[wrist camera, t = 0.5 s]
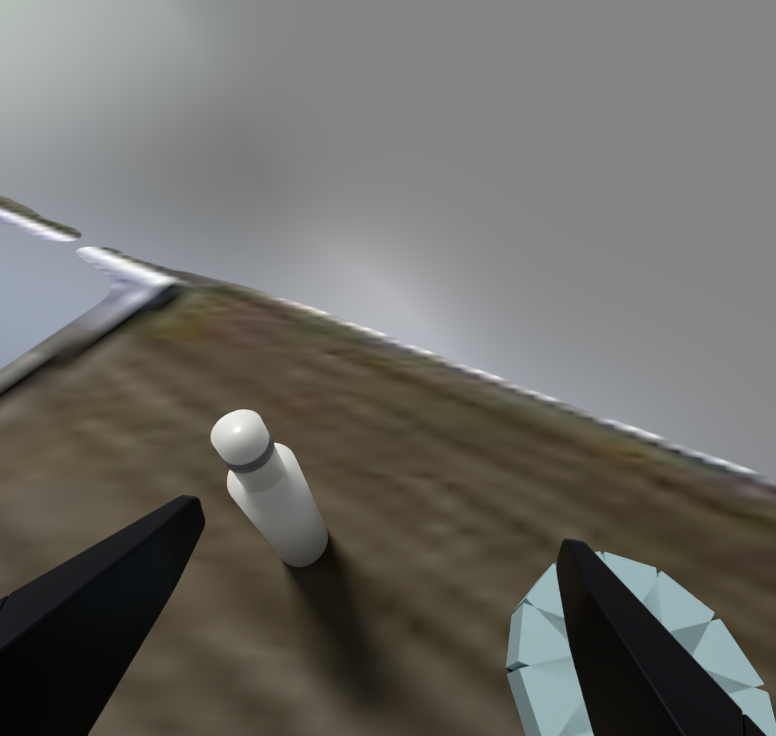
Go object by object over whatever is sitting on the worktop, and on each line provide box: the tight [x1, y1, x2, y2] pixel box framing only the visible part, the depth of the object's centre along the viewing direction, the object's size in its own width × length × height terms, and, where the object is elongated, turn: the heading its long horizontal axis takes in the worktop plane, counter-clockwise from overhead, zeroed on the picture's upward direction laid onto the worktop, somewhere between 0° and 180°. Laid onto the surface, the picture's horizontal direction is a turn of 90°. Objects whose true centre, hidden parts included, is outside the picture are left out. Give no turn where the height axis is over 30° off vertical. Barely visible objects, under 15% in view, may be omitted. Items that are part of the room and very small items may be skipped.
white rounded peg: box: [211, 410, 328, 567], centre depth 19 cm, size 3×3×12 cm
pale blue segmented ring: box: [506, 552, 776, 736], centre depth 17 cm, size 10×10×3 cm
